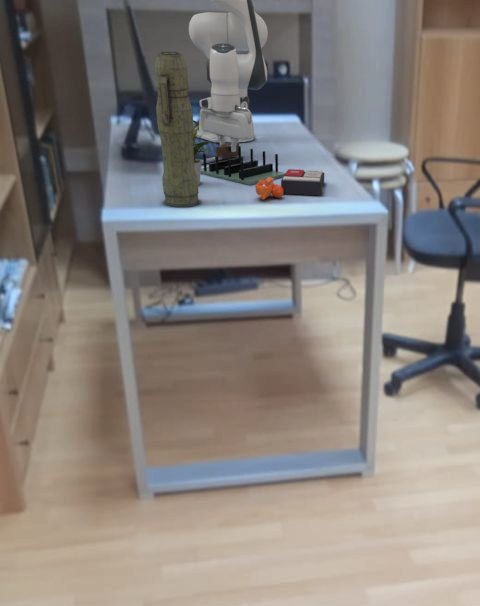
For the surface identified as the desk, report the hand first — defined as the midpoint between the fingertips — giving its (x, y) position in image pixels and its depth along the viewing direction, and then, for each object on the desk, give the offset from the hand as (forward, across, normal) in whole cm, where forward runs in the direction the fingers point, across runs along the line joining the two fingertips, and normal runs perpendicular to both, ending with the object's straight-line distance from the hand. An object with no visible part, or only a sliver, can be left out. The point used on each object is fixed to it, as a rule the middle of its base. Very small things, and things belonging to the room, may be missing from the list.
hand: (228, 150), depth 248 cm
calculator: (+2, -41, +12) cm, 43 cm away
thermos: (+2, -28, +46) cm, 54 cm away
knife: (+2, 0, +4) cm, 4 cm away
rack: (+2, -17, +12) cm, 21 cm away
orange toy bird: (+2, -41, +26) cm, 49 cm away
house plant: (+2, -15, +32) cm, 36 cm away
